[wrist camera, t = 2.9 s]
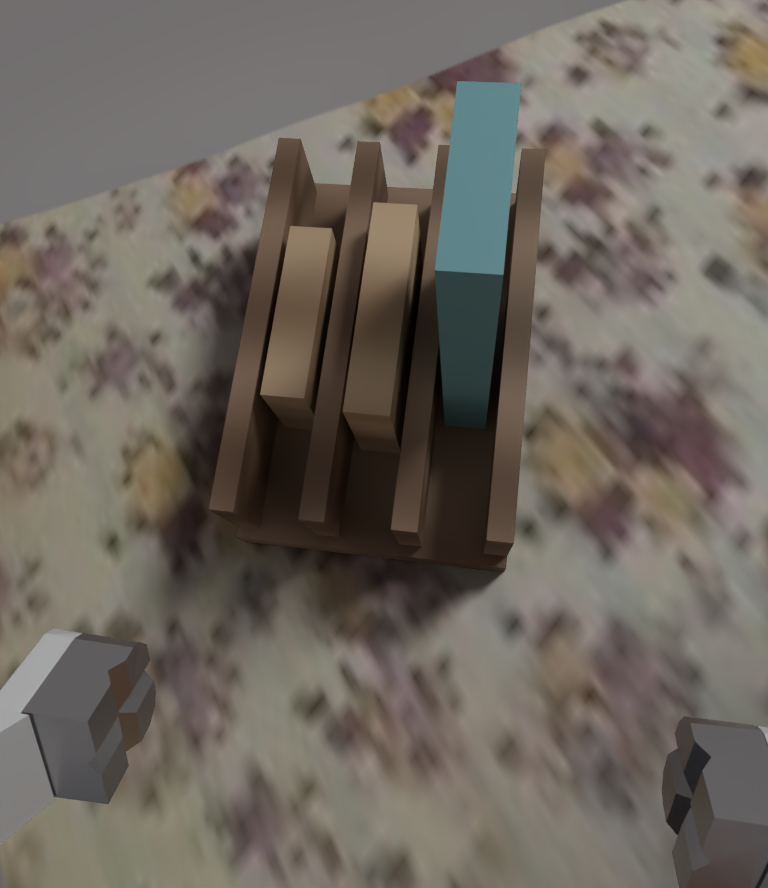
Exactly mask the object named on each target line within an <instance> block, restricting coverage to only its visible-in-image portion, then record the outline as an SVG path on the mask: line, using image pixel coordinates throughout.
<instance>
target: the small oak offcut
mask: <svg viewBox="0 0 768 888" xmlns="http://www.w3.org/2000/svg"><path fill="white" fill-rule="evenodd" d="M339 257H340V254H339V251H338V247H337V244H336V241H335V237H334V234H333V231H332V228H317V227H300V226H290V230H289V236H288V241H287V247H286V253H285V258H284V264H283V269H282V275H281V281H280V286H279V292H278V297H277V303H276V308H275V314H274V320H273V325H272V331H271V336H270V342H269V348H268V353H267V359H266V364H265V370H264V376H263V381H262V387H261V392H260V395H261V396H262V398H263V399H264V400H265V402H266V403H267V404H268V405H269V407H270V408H271V409H272V411H273V412H274V413H275V414H276V416H277V417H278V418H279V420H280V421H281V422H282V423H283V425H284V426H285V427H286V428H297V429H307V430H312V428H313V422H314V415H315V409H316V403H317V396H318V390H319V384H320V377H321V371H322V365H323V358H324V352H325V346H326V339H327V333H328V326H329V320H330V314H331V307H332V301H333V295H334V288H335V282H336V276H337V269H338V263H339Z"/></svg>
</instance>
